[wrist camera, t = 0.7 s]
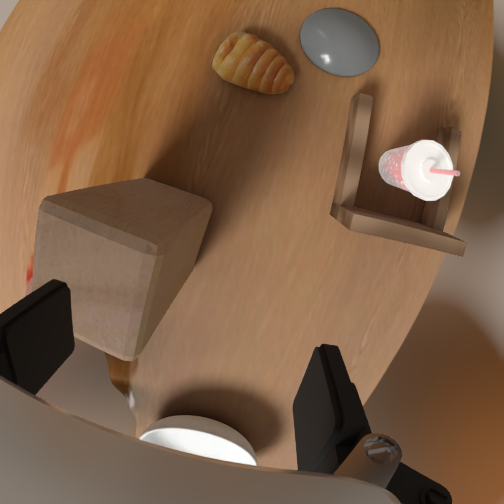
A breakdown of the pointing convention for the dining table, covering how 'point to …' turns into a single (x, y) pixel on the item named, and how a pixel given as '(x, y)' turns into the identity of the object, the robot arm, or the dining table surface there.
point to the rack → (380, 223)
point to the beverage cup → (419, 169)
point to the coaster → (339, 42)
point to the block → (119, 256)
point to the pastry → (253, 64)
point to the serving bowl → (201, 438)
